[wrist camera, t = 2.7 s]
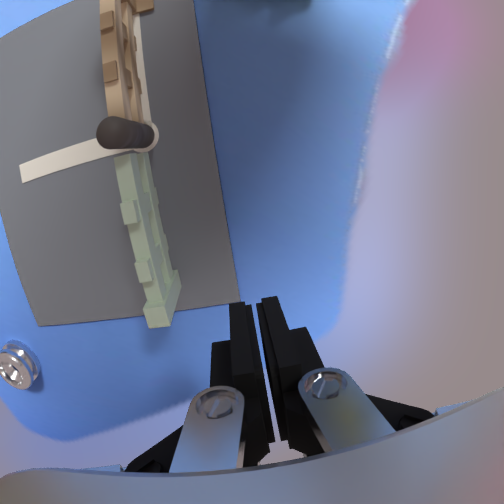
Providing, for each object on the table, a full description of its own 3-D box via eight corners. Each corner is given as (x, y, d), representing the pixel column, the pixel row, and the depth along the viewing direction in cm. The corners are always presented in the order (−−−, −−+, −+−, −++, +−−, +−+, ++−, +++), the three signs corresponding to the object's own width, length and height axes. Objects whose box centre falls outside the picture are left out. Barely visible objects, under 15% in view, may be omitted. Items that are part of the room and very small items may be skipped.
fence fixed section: (171, 142, 22) (149, 140, 15) (120, 154, 21) (81, 158, 15) (153, -5, 18) (132, -48, 11) (105, 9, 17) (71, -27, 11)
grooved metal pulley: (6, 363, 27) (40, 382, 28) (-5, 378, 24) (30, 399, 25) (5, 332, 25) (41, 352, 26) (-9, 346, 23) (29, 368, 24)
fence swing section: (135, 155, 21) (105, 159, 15) (153, 151, 21) (129, 152, 15) (164, 288, 24) (149, 328, 19) (181, 286, 24) (170, 326, 19)
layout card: (189, -32, 17) (189, -34, 17) (240, 300, 26) (240, 301, 26) (-13, 47, 16) (-15, 46, 16) (39, 325, 25) (38, 326, 25)
